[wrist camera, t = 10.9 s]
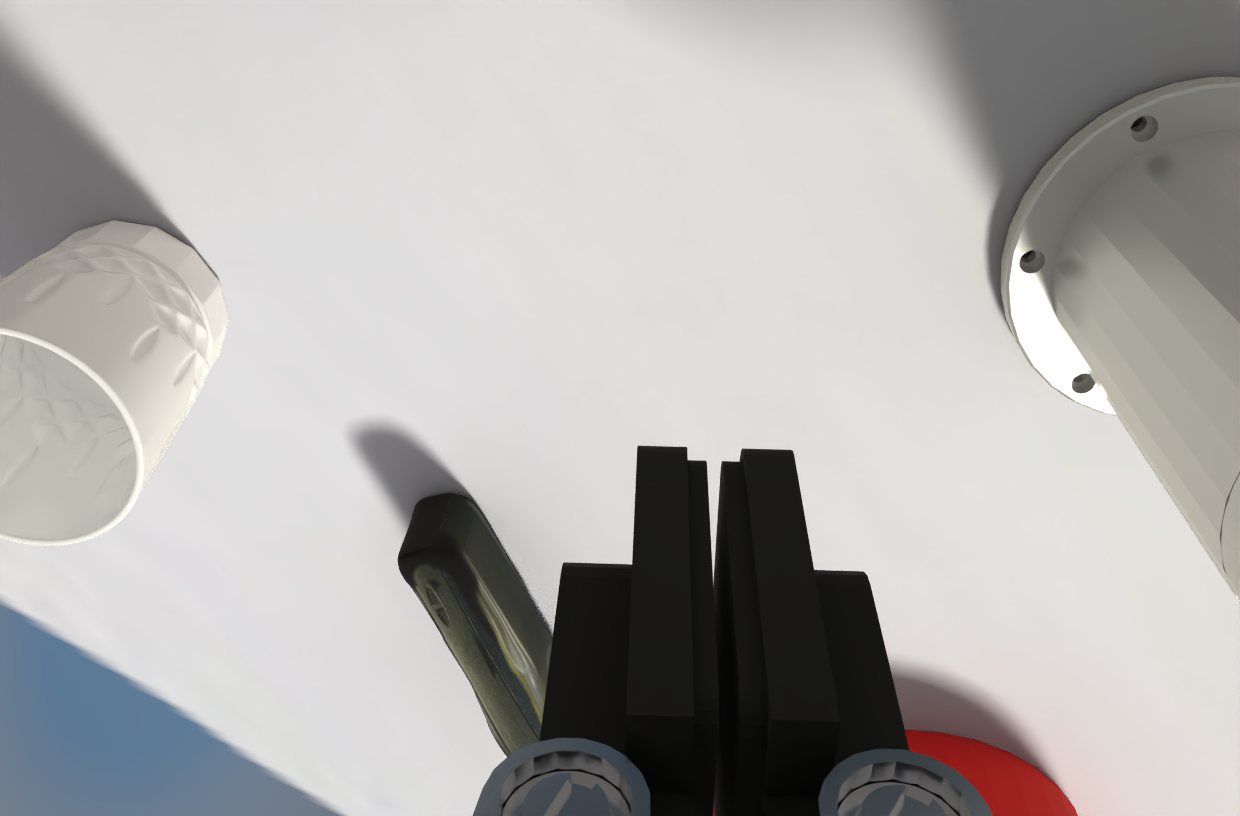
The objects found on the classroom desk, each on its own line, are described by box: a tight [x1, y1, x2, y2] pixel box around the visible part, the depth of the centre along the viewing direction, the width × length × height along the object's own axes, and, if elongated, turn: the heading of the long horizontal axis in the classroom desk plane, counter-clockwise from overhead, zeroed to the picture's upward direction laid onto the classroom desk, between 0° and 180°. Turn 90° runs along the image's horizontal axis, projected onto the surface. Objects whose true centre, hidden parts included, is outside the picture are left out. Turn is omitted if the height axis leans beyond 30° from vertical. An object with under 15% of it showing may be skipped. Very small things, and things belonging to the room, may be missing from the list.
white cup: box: [0, 220, 229, 546], centre depth 40 cm, size 8×8×10 cm
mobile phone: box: [398, 493, 553, 757], centre depth 49 cm, size 5×3×15 cm
